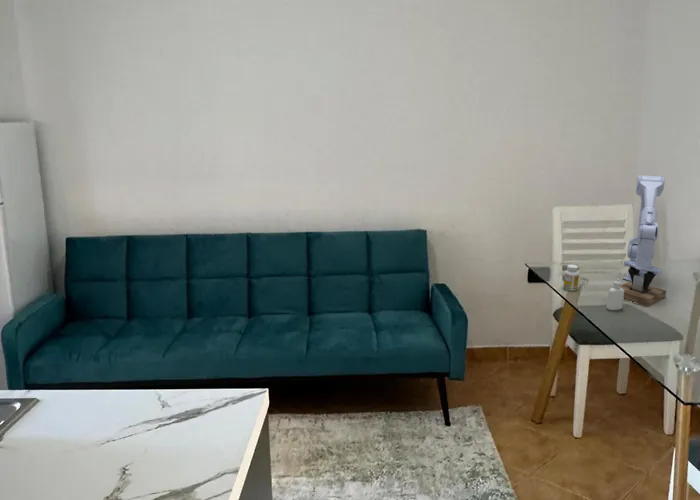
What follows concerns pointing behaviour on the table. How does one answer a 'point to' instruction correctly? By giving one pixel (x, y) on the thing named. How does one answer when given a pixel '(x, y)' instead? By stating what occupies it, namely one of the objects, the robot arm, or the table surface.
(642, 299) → the socket block
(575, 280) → the supplement bottle
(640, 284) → the peg
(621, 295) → the eye dropper bottle
